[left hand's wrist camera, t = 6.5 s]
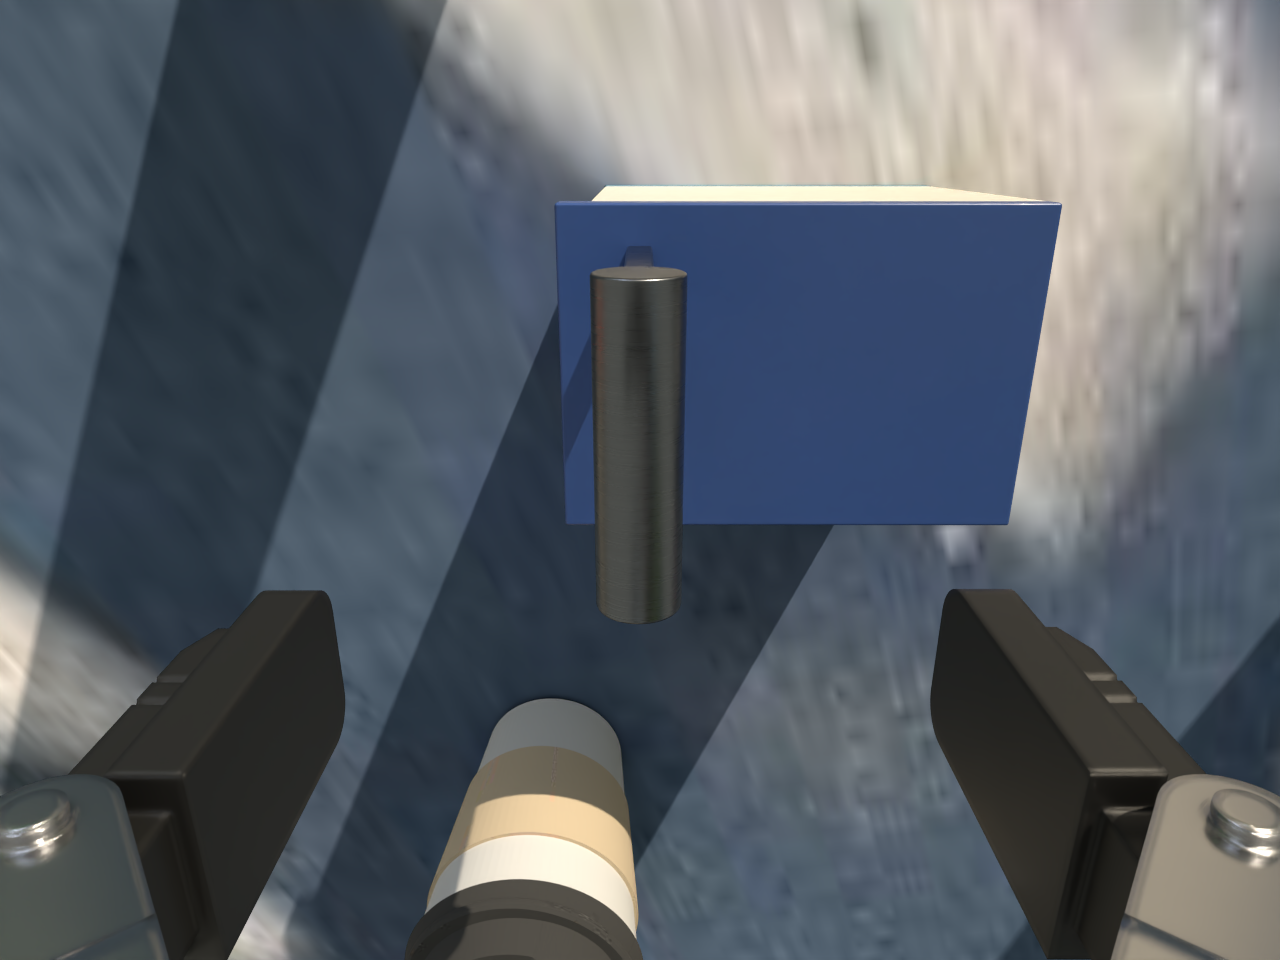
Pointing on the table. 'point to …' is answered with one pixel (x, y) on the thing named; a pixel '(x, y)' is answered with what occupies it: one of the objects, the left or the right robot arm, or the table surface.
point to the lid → (789, 369)
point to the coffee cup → (538, 848)
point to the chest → (792, 193)
